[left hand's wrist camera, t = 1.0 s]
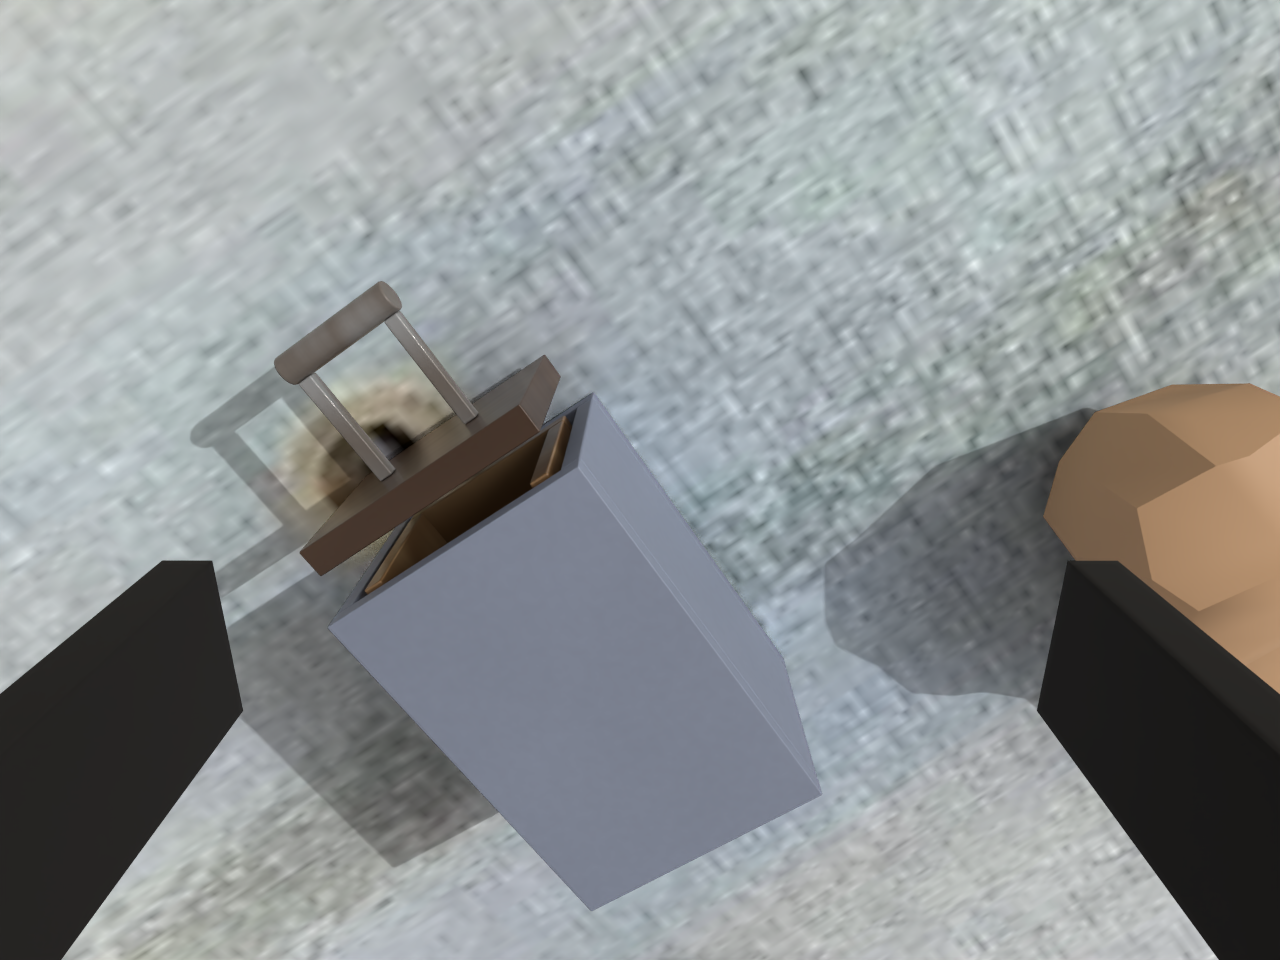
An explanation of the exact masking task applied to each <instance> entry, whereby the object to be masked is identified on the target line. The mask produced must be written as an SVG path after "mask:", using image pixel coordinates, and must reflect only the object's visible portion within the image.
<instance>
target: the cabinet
mask: <svg viewBox="0 0 1280 960" xmlns="http://www.w3.org/2000/svg"><path fill="white" fill-rule="evenodd" d="M562 416H565V417H566V418H567V419H568V420H569V422H570V423H571V425H572V430H571V433H570V437H569V441H568V445H567V449H566V452H565V456H564V460H563V464H562V468H561V471H559V472H557V473H556V474H554V475H553V476H551V477H550V478H548V479H547V480H545V481H544V482H542V483H540V484H539V485H537V486H536V487H534V488H533V489H531V490H530V491H528V492H526V493H525V494H523V495H522V496H520V497H519V498H517V499H516V500H514V501H512V502H511V503H509V504H508V505H506V506H505V507H503V508H502V509H500V510H499V511H497V512H495V513H494V514H492V515H491V516H489V517H488V518H486V519H485V520H483V521H481V522H480V523H478V524H477V525H475V526H474V527H472V528H471V529H469V530H467V531H466V532H464V533H463V534H461V535H460V536H458V537H457V538H455V539H454V540H452V541H450V542H449V543H447V544H446V545H444V546H443V547H441V548H440V549H438V550H436V551H435V552H433V553H432V554H430V555H429V556H427V557H426V558H424V559H422V560H421V561H419V562H418V563H416V564H415V565H413V566H412V567H410V568H409V569H407V570H405V571H404V572H402V573H401V574H399V575H398V576H396V577H395V578H393V579H391V580H390V581H388V582H387V583H385V584H384V585H382V586H381V587H379V588H377V589H376V590H374V591H373V592H371V593H370V594H368V595H367V593H366V592H365V589H366V588H367V586H368V585H369V583H370V581H371V580H372V578H373V577H374V575H375V574H376V572H377V571H378V569H379V568H380V566H381V564H382V563H383V561H384V560H385V558H386V557H387V555H388V554H389V552H390V551H391V549H392V548H393V546H394V544H395V543H396V541H397V540H398V538H399V537H400V535H401V534H402V532H403V531H404V529H405V527H406V526H407V524H408V523H409V521H410V520H411V519H412V517H413V516H412V517H410V518H409V519H407V520H406V521H404V522H403V523H401V524H400V525H398V526H397V527H395V529H394V530H393V532H392V533H391V535H390V536H389V537H388V539H387V540H386V542H385V543H384V545H383V546H382V548H381V549H380V551H379V552H378V554H377V555H376V557H375V558H374V560H373V561H372V563H371V564H370V566H369V567H368V569H367V570H366V571H365V573H364V574H363V576H362V577H361V579H360V580H359V582H358V583H357V585H356V586H355V588H354V589H353V591H352V592H351V594H350V595H349V597H348V598H347V600H346V601H345V603H344V604H343V605H342V607H341V608H340V610H339V611H338V613H337V614H336V616H335V617H334V618H333V620H332V621H331V623H330V624H329V626H328V629H329V630H330V631H331V632H332V634H333V635H334V636H335V637H336V638H337V639H338V640H339V641H340V642H341V643H342V644H343V645H344V646H345V647H346V649H347V650H348V651H349V652H350V653H351V654H352V655H353V656H354V657H355V658H356V659H357V660H358V661H359V662H360V664H361V665H362V666H363V667H364V668H365V669H366V670H367V671H368V672H369V673H370V674H371V675H372V676H373V678H374V679H375V680H376V681H377V682H378V683H379V684H380V685H381V686H382V687H383V688H384V689H385V690H386V691H387V693H388V694H389V695H390V696H391V697H392V698H393V699H394V700H395V701H396V702H397V703H398V704H399V705H400V707H401V708H402V709H403V710H404V711H405V712H406V713H407V714H408V715H409V716H410V717H411V718H412V719H413V720H414V722H415V723H416V724H417V725H418V726H419V727H420V728H421V729H422V730H423V731H424V732H425V733H426V734H427V735H428V737H429V738H430V739H431V740H432V741H433V742H434V743H435V744H436V745H437V746H438V747H439V748H440V749H441V751H442V752H443V753H444V754H445V755H446V756H447V757H448V758H449V759H450V760H451V761H452V762H453V763H454V764H455V766H456V767H457V768H458V769H459V770H460V771H461V772H462V773H463V774H464V775H465V776H466V777H467V778H468V780H469V781H470V782H471V783H472V784H473V785H474V786H475V787H476V788H477V789H478V790H479V791H480V792H481V793H482V795H483V796H484V797H485V798H486V799H487V800H488V801H489V802H490V803H491V804H492V805H493V806H494V807H495V808H496V810H497V811H498V812H499V813H500V814H501V815H502V816H503V817H504V818H505V819H506V820H507V821H508V822H509V824H510V825H511V826H512V827H513V828H514V829H515V830H516V831H517V832H518V833H519V834H520V835H521V836H522V837H523V839H524V840H525V841H526V842H527V843H528V844H529V845H530V846H531V847H532V848H533V849H534V850H535V851H536V853H537V854H538V855H539V856H540V857H541V858H542V859H543V860H544V861H545V862H546V863H547V864H548V865H549V866H550V868H551V869H552V870H553V871H554V872H555V873H556V874H557V875H558V876H559V877H560V878H561V879H562V880H563V881H564V883H565V884H566V885H567V886H568V887H569V888H570V889H571V890H572V891H573V892H574V893H575V894H576V895H577V897H578V898H579V899H580V900H581V901H582V902H583V903H584V904H585V905H586V906H587V907H588V908H589V909H590V910H591V911H593V910H595V909H597V908H599V907H601V906H603V905H605V904H607V903H609V902H611V901H613V900H615V899H617V898H619V897H621V896H623V895H625V894H627V893H629V892H631V891H633V890H635V889H637V888H639V887H641V886H643V885H645V884H646V883H648V882H650V881H652V880H654V879H656V878H658V877H660V876H662V875H664V874H666V873H668V872H670V871H672V870H674V869H676V868H678V867H680V866H682V865H684V864H686V863H688V862H690V861H692V860H694V859H696V858H698V857H700V856H702V855H704V854H706V853H708V852H710V851H712V850H714V849H716V848H718V847H720V846H722V845H724V844H726V843H728V842H730V841H732V840H734V839H736V838H738V837H739V836H741V835H743V834H745V833H747V832H749V831H751V830H753V829H755V828H757V827H759V826H761V825H763V824H765V823H767V822H769V821H771V820H773V819H775V818H777V817H779V816H781V815H783V814H785V813H787V812H789V811H791V810H793V809H795V808H797V807H799V806H801V805H803V804H805V803H807V802H809V801H811V800H813V799H815V798H817V797H819V796H821V795H822V791H821V788H820V784H819V781H818V779H817V775H816V772H815V768H814V765H813V761H812V758H811V754H810V751H809V747H808V744H807V740H806V736H805V733H804V729H803V726H802V722H801V719H800V715H799V712H798V708H797V705H796V701H795V698H794V694H793V691H792V687H791V684H790V680H789V677H788V673H787V670H786V665H785V662H784V658H783V657H782V655H781V654H780V653H779V651H778V650H777V648H776V647H775V646H774V644H773V643H772V641H771V640H770V639H769V637H768V636H767V634H766V633H765V632H764V630H763V629H762V627H761V626H760V625H759V623H758V622H757V620H756V619H755V618H754V616H753V615H752V613H751V612H750V611H749V609H748V608H747V606H746V605H745V603H744V602H743V601H742V599H741V598H740V596H739V595H738V594H737V592H736V591H735V589H734V588H733V587H732V585H731V584H730V582H729V581H728V580H727V578H726V577H725V575H724V574H723V573H722V571H721V570H720V568H719V567H718V566H717V564H716V563H715V561H714V560H713V559H712V557H711V556H710V554H709V553H708V552H707V550H706V549H705V547H704V546H703V545H702V543H701V542H700V540H699V539H698V538H697V536H696V535H695V533H694V532H693V531H692V529H691V528H690V526H689V525H688V524H687V522H686V521H685V519H684V518H683V516H682V515H681V514H680V512H679V511H678V509H677V508H676V507H675V505H674V504H673V502H672V501H671V500H670V498H669V497H668V495H667V494H666V493H665V491H664V490H663V488H662V487H661V486H660V484H659V483H658V481H657V480H656V479H655V477H654V476H653V474H652V473H651V472H650V470H649V469H648V467H647V466H646V465H645V463H644V462H643V460H642V459H641V458H640V456H639V455H638V453H637V452H636V451H635V449H634V448H633V446H632V445H631V444H630V442H629V441H628V439H627V438H626V437H625V435H624V434H623V432H622V431H621V430H620V428H619V427H618V425H617V424H616V422H615V421H614V420H613V418H612V417H611V415H610V414H609V413H608V411H607V410H606V408H605V407H604V406H603V404H602V403H601V401H600V400H599V399H598V397H597V396H596V394H595V393H591V394H590V395H588V396H587V397H585V398H584V399H582V400H581V401H579V402H578V403H576V404H575V405H573V406H572V407H570V408H569V409H567V410H566V411H564V412H563V413H561V414H560V415H558V416H557V417H555V418H554V419H552V420H551V421H549V422H548V423H546V424H545V425H543V426H542V427H541V430H542V429H544V428H545V427H547V426H548V425H550V424H551V423H553V422H554V421H556V420H558V419H559V418H561V417H562ZM541 430H540V431H541Z"/></svg>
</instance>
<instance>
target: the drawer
mask: <svg viewBox="0 0 1280 960" xmlns="http://www.w3.org/2000/svg"><path fill="white" fill-rule="evenodd" d="M401 308H402V304H401V301H400V299H399V297H398V295H397V294H396V293H395V291H394V290H393V289H392V288H391V287H390V286H389V285H388V284H386V283H385V282H383V281H380V282H378V283H376V284H375V285H374V286H372V287H371V288H370V289H368V290H367V291H365V292H364V293H363V294H361V295H360V296H359V297H357V298H356V299H355V300H353V301H352V302H351V303H349V304H348V305H347V306H345V307H344V308H343V309H341V310H340V311H339V312H337V313H336V314H335V315H333V316H332V317H330V318H329V319H328V320H326V321H325V322H324V323H322V324H321V325H320V326H318V327H317V328H316V329H314V330H313V331H312V332H310V333H309V334H308V335H306V336H305V337H304V338H302V339H301V340H300V341H298V342H297V343H296V344H294V345H293V346H291V347H290V348H289V349H287V350H286V351H285V352H283V353H282V354H281V355H279V356H278V357H277V358H276V359H275V361H274V365H275V368H276V370H277V372H278V373H279V374H280V376H281V377H282V378H283V379H284V380H286V381H287V382H288V383H290V384H293V385H296V384H299V385H300V386H301V388H302V389H303V390H304V391H305V392H306V393H307V395H308V396H309V397H310V398H311V399H312V401H313V402H314V403H315V404H316V405H317V407H318V408H319V409H320V410H321V411H322V412H323V414H324V415H325V416H326V417H327V418H328V420H329V421H330V422H331V423H332V424H333V426H334V427H335V428H336V429H337V430H338V431H339V433H340V434H341V435H342V436H343V437H344V439H345V440H346V441H347V442H348V443H349V445H350V446H351V447H352V448H353V449H354V450H355V452H356V453H357V454H358V455H359V456H360V458H361V459H362V460H363V461H364V462H365V464H366V465H367V466H368V467H369V468H370V469H371V471H372V473H370V474H369V475H367V476H366V477H365V478H364V479H363V480H362V481H361V483H360V484H359V485H358V486H357V487H356V488H355V489H354V491H353V492H352V493H351V494H350V495H349V496H348V497H347V499H346V500H345V501H344V502H343V503H342V504H341V505H340V507H339V508H338V509H337V510H336V511H335V512H334V513H333V514H332V516H331V517H330V518H329V519H328V520H327V521H326V522H325V524H324V525H323V526H322V527H321V528H320V529H319V530H318V532H317V533H316V534H315V535H314V536H313V537H312V538H311V539H310V541H309V542H308V543H307V544H306V545H305V546H304V547H303V549H302V550H301V551H300V554H301V555H302V556H303V558H304V559H305V560H306V561H307V562H308V563H309V564H310V565H311V566H312V567H313V569H314V570H315V571H316V572H317V573H318V574H319V575H320V576H323V575H324V574H326V573H327V572H329V571H330V570H332V569H333V568H335V567H336V566H338V565H339V564H341V563H342V562H344V561H345V560H347V559H348V558H350V557H351V556H353V555H354V554H356V553H357V552H359V551H360V550H362V549H363V548H365V547H366V546H368V545H369V544H371V543H372V542H374V541H376V540H377V539H379V538H380V537H382V536H383V535H385V534H386V533H388V532H389V531H391V530H392V529H394V528H395V527H397V526H398V525H400V524H401V523H403V522H404V521H406V520H407V519H409V518H410V517H412V516H413V517H412V519H411V520H410V521H409V523H408V524H407V526H406V527H405V529H404V531H403V532H402V534H401V535H400V537H399V538H398V540H397V541H396V543H395V544H394V546H393V548H392V549H391V551H390V552H389V554H388V555H387V557H386V558H385V560H384V561H383V563H382V564H381V566H380V568H379V569H378V571H377V572H376V574H375V575H374V577H373V578H372V580H371V581H370V583H369V585H368V586H367V588H366V589H365V592H366V593H367V595H368V594H370V593H371V592H373V591H374V590H376V589H377V588H379V587H381V586H382V585H384V584H385V583H387V582H388V581H390V580H391V579H393V578H395V577H396V576H398V575H399V574H401V573H402V572H404V571H405V570H407V569H409V568H410V567H412V566H413V565H415V564H416V563H418V562H419V561H421V560H422V559H424V558H426V557H427V556H429V555H430V554H432V553H433V552H435V551H436V550H438V549H440V548H441V547H443V546H444V545H446V544H447V543H449V542H450V541H452V540H454V539H455V538H457V537H458V536H460V535H461V534H463V533H464V532H466V531H467V530H469V529H471V528H472V527H474V526H475V525H477V524H478V523H480V522H481V521H483V520H485V519H486V518H488V517H489V516H491V515H492V514H494V513H495V512H497V511H499V510H500V509H502V508H503V507H505V506H506V505H508V504H509V503H511V502H512V501H514V500H516V499H517V498H519V497H520V496H522V495H523V494H525V493H526V492H528V491H530V490H531V489H533V488H534V487H536V486H537V485H539V484H540V483H542V482H544V481H545V480H547V479H548V478H550V477H551V476H553V475H554V474H556V473H557V472H559V471H561V468H562V464H563V460H564V456H565V452H566V449H567V445H568V441H569V437H570V433H571V430H572V425H571V423H570V422H569V420H568V419H567V418H566V417H565V416H562V417H561V418H559V419H558V420H556V421H554V422H553V423H551V424H550V425H548V426H547V427H545V428H544V429H542V430H541V427H542V425H543V422H544V419H545V417H546V414H547V412H548V409H549V406H550V404H551V401H552V398H553V396H554V393H555V390H556V388H557V385H558V383H559V380H560V375H559V373H558V372H557V371H556V369H555V368H554V367H553V365H552V364H551V362H550V361H549V360H548V358H547V357H546V355H543V356H541V357H540V358H539V359H537V360H536V361H534V362H533V363H531V364H530V365H528V366H527V367H525V368H524V369H522V370H521V371H520V372H518V373H517V374H515V375H514V376H512V377H511V378H509V379H508V380H506V381H505V382H503V383H502V384H500V385H499V386H498V387H496V388H495V389H493V390H492V391H490V392H489V393H487V394H486V395H484V396H483V397H481V398H480V399H479V400H477V401H476V402H474V403H473V404H471V402H470V401H469V400H468V398H467V397H466V396H465V394H464V393H463V392H462V391H461V389H460V388H459V387H458V385H457V384H456V383H455V382H454V380H453V379H452V378H451V376H450V375H449V374H448V372H447V371H446V370H445V369H444V367H443V366H442V365H441V363H440V362H439V361H438V359H437V358H436V357H435V356H434V354H433V353H432V352H431V350H430V349H429V348H428V347H427V345H426V344H425V343H424V341H423V340H422V339H421V337H420V336H419V335H418V334H417V332H416V331H415V330H414V328H413V327H412V326H411V324H410V323H409V322H408V321H407V319H406V318H405V317H404V315H403V314H402V313H401V312H400V311H399V310H400V309H401ZM384 321H385V324H386V325H387V326H388V328H389V329H390V330H391V332H392V333H393V334H394V335H395V337H396V338H397V339H398V341H399V342H400V343H401V344H402V346H403V347H404V348H405V349H406V351H407V352H408V353H409V355H410V356H411V357H412V358H413V360H414V361H415V362H416V364H417V365H418V366H419V367H420V369H421V370H422V371H423V372H424V374H425V375H426V376H427V378H428V379H429V380H430V381H431V383H432V384H433V385H434V387H435V388H436V389H437V390H438V392H439V393H440V394H441V396H442V397H443V398H444V399H445V401H446V402H447V403H448V404H449V406H450V407H451V408H452V410H453V411H454V412H455V413H456V415H455V416H454V417H452V418H451V419H449V420H448V421H446V422H445V423H443V424H442V425H440V426H439V427H438V428H436V429H435V430H433V431H432V432H430V433H429V434H427V435H426V436H424V437H423V438H421V439H420V440H419V441H417V442H416V443H414V444H413V445H411V446H410V447H408V448H407V449H405V450H404V451H402V452H401V453H399V454H398V455H397V456H395V457H394V458H392V459H391V460H388V459H387V458H386V457H385V456H384V454H383V453H382V452H381V451H380V450H379V448H378V447H377V446H376V445H375V444H374V442H373V441H372V440H371V439H370V438H369V436H368V435H367V434H366V433H365V432H364V430H363V429H362V428H361V427H360V426H359V424H358V423H357V422H356V421H355V420H354V418H353V417H352V416H351V415H350V414H349V412H348V411H347V410H346V409H345V408H344V406H343V405H342V404H341V403H340V401H339V400H338V399H337V398H336V397H335V395H334V394H333V393H332V392H331V391H330V389H329V388H328V387H327V386H326V385H325V383H324V382H323V381H322V380H321V379H320V377H319V376H318V375H317V374H316V373H314V372H316V371H317V370H318V369H320V368H321V367H322V366H324V365H325V364H326V363H328V362H329V361H331V360H332V359H333V358H335V357H336V356H337V355H339V354H340V353H342V352H343V351H344V350H346V349H347V348H348V347H350V346H351V345H353V344H354V343H355V342H357V341H358V340H359V339H361V338H362V337H364V336H365V335H366V334H368V333H369V332H370V331H372V330H373V329H374V328H376V327H377V326H379V325H380V324H381V323H383V322H384ZM540 430H541V431H540Z"/></svg>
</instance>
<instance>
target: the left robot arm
mask: <svg viewBox="0 0 1280 960" xmlns="http://www.w3.org/2000/svg"><path fill="white" fill-rule="evenodd" d="M242 711H243V708H242V703H241V698H240V693H239V688H238V684H237V679H236V674H235V669H234V664H233V659H232V654H231V650H230V645H229V640H228V635H227V630H226V625H225V621H224V616H223V611H222V606H221V601H220V596H219V591H218V587H217V582H216V577H215V572H214V567H213V562H212V561H161V562H160V563H159V564H158V565H156V566H155V567H154V568H153V569H152V570H150V571H149V572H148V573H147V574H145V575H144V576H143V577H142V578H141V579H139V580H138V581H137V582H136V583H135V584H133V585H132V586H131V587H130V588H128V589H127V590H126V591H125V592H124V593H122V594H121V595H120V596H119V597H117V598H116V599H115V600H114V601H113V602H111V603H110V604H109V605H108V606H107V607H105V608H104V609H103V610H102V611H100V612H99V613H98V614H97V615H96V616H94V617H93V618H92V619H91V620H90V621H88V622H87V623H86V624H85V625H83V626H82V627H81V628H80V629H79V630H77V631H76V632H75V633H74V634H73V635H71V636H70V637H69V638H68V639H66V640H65V641H64V642H63V643H62V644H60V645H59V646H58V647H57V648H56V649H54V650H53V651H52V652H51V653H49V654H48V655H47V656H46V657H45V658H43V659H42V660H41V661H40V662H39V663H37V664H36V665H35V666H34V667H32V668H31V669H30V670H29V671H28V672H26V673H25V674H24V675H23V676H22V677H20V678H19V679H18V680H17V681H15V682H14V683H13V684H12V685H11V686H9V687H8V688H7V689H6V690H4V691H3V692H2V693H1V694H0V960H61V959H62V958H63V956H64V955H65V954H66V952H67V951H68V950H69V948H70V947H71V946H72V944H73V943H74V941H75V940H76V939H77V937H78V936H79V935H80V933H81V932H82V930H83V929H84V928H85V926H86V925H87V924H88V922H89V921H90V920H91V918H92V917H93V915H94V914H95V913H96V911H97V910H98V909H99V907H100V906H101V904H102V903H103V902H104V900H105V899H106V898H107V896H108V895H109V894H110V892H111V891H112V889H113V888H114V887H115V885H116V884H117V883H118V881H119V880H120V878H121V877H122V876H123V874H124V873H125V872H126V870H127V869H128V867H129V866H130V865H131V863H132V862H133V861H134V859H135V858H136V857H137V855H138V854H139V852H140V851H141V850H142V848H143V847H144V846H145V844H146V843H147V841H148V840H149V839H150V837H151V836H152V835H153V833H154V832H155V831H156V829H157V828H158V826H159V825H160V824H161V822H162V821H163V820H164V818H165V817H166V815H167V814H168V813H169V811H170V810H171V809H172V807H173V806H174V805H175V803H176V802H177V800H178V799H179V798H180V796H181V795H182V794H183V792H184V791H185V789H186V788H187V787H188V785H189V784H190V783H191V781H192V780H193V779H194V777H195V776H196V774H197V773H198V772H199V770H200V769H201V768H202V766H203V765H204V763H205V762H206V761H207V759H208V758H209V757H210V755H211V754H212V753H213V751H214V750H215V748H216V747H217V746H218V744H219V743H220V742H221V740H222V739H223V737H224V736H225V735H226V733H227V732H228V731H229V729H230V728H231V727H232V725H233V724H234V722H235V721H236V720H237V718H238V717H239V716H240V714H241V713H242ZM1037 711H1038V713H1039V714H1040V716H1041V717H1042V718H1043V720H1044V721H1045V722H1046V724H1047V725H1048V727H1049V728H1050V729H1051V731H1052V732H1053V733H1054V735H1055V736H1056V737H1057V739H1058V740H1059V742H1060V743H1061V744H1062V746H1063V747H1064V748H1065V750H1066V751H1067V753H1068V754H1069V755H1070V757H1071V758H1072V759H1073V761H1074V762H1075V763H1076V765H1077V766H1078V768H1079V769H1080V770H1081V772H1082V773H1083V774H1084V776H1085V777H1086V779H1087V780H1088V781H1089V783H1090V784H1091V785H1092V787H1093V788H1094V789H1095V791H1096V792H1097V794H1098V795H1099V796H1100V798H1101V799H1102V800H1103V802H1104V803H1105V805H1106V806H1107V807H1108V809H1109V810H1110V811H1111V813H1112V814H1113V815H1114V817H1115V818H1116V820H1117V821H1118V822H1119V824H1120V825H1121V826H1122V828H1123V829H1124V831H1125V832H1126V833H1127V835H1128V836H1129V837H1130V839H1131V840H1132V841H1133V843H1134V844H1135V846H1136V847H1137V848H1138V850H1139V851H1140V852H1141V854H1142V855H1143V857H1144V858H1145V859H1146V861H1147V862H1148V863H1149V865H1150V866H1151V867H1152V869H1153V870H1154V872H1155V873H1156V874H1157V876H1158V877H1159V878H1160V880H1161V881H1162V883H1163V884H1164V885H1165V887H1166V888H1167V889H1168V891H1169V892H1170V894H1171V895H1172V896H1173V898H1174V899H1175V900H1176V902H1177V903H1178V904H1179V906H1180V907H1181V909H1182V910H1183V911H1184V913H1185V914H1186V915H1187V917H1188V918H1189V920H1190V921H1191V922H1192V924H1193V925H1194V926H1195V928H1196V929H1197V930H1198V932H1199V933H1200V935H1201V936H1202V937H1203V939H1204V940H1205V941H1206V943H1207V944H1208V946H1209V947H1210V948H1211V950H1212V951H1213V952H1214V954H1215V955H1216V956H1217V958H1218V959H1219V960H1280V694H1279V693H1278V692H1277V691H1276V690H1274V689H1273V688H1272V687H1271V686H1269V685H1268V684H1267V683H1266V682H1265V681H1263V680H1262V679H1261V678H1260V677H1258V676H1257V675H1256V674H1255V673H1254V672H1252V671H1251V670H1250V669H1249V668H1248V667H1246V666H1245V665H1244V664H1243V663H1241V662H1240V661H1239V660H1238V659H1237V658H1235V657H1234V656H1233V655H1232V654H1231V653H1229V652H1228V651H1227V650H1226V649H1224V648H1223V647H1222V646H1221V645H1220V644H1218V643H1217V642H1216V641H1215V640H1214V639H1212V638H1211V637H1210V636H1209V635H1207V634H1206V633H1205V632H1204V631H1203V630H1201V629H1200V628H1199V627H1198V626H1197V625H1195V624H1194V623H1193V622H1192V621H1190V620H1189V619H1188V618H1187V617H1186V616H1184V615H1183V614H1182V613H1181V612H1180V611H1178V610H1177V609H1176V608H1175V607H1173V606H1172V605H1171V604H1170V603H1169V602H1167V601H1166V600H1165V599H1164V598H1163V597H1161V596H1160V595H1159V594H1158V593H1156V592H1155V591H1154V590H1153V589H1152V588H1150V587H1149V586H1148V585H1147V584H1145V583H1144V582H1143V581H1142V580H1141V579H1139V578H1138V577H1137V576H1136V575H1135V574H1133V573H1132V572H1131V571H1130V570H1128V569H1127V568H1126V567H1125V566H1124V565H1122V564H1121V563H1120V562H1119V561H1068V562H1067V567H1066V572H1065V577H1064V582H1063V587H1062V591H1061V596H1060V601H1059V606H1058V611H1057V616H1056V621H1055V625H1054V630H1053V635H1052V640H1051V645H1050V650H1049V654H1048V659H1047V664H1046V669H1045V674H1044V679H1043V684H1042V688H1041V693H1040V698H1039V703H1038V708H1037Z"/></svg>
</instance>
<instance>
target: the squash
mask: <svg viewBox="0 0 1280 960" xmlns="http://www.w3.org/2000/svg"><path fill="white" fill-rule="evenodd" d="M1043 517H1044V519H1045V520H1046V521H1047V523H1048V524H1049V525H1050V527H1051V528H1052V529H1053V531H1054V532H1055V533H1056V535H1057V536H1058V537H1059V539H1060V540H1061V541H1062V543H1063V544H1064V545H1065V547H1066V548H1067V549H1068V551H1069V552H1070V554H1071V555H1072V556H1073V558H1074V559H1075V560H1076V561H1119V562H1120V563H1121V564H1122V565H1124V566H1125V567H1126V568H1127V569H1128V570H1130V571H1131V572H1132V573H1133V574H1135V575H1136V576H1137V577H1138V578H1139V579H1141V580H1142V581H1143V582H1144V583H1145V584H1147V585H1148V586H1149V587H1150V588H1152V589H1153V590H1154V591H1155V592H1156V593H1158V594H1159V595H1160V596H1161V597H1163V598H1164V599H1165V600H1166V601H1167V602H1169V603H1170V604H1171V605H1172V606H1173V607H1175V608H1176V609H1177V610H1178V611H1180V612H1181V613H1182V614H1183V615H1184V616H1186V617H1187V618H1188V619H1189V620H1190V621H1192V622H1193V623H1194V624H1195V625H1197V626H1198V627H1199V628H1200V629H1201V630H1203V631H1204V632H1205V633H1206V634H1207V635H1209V636H1210V637H1211V638H1212V639H1214V640H1215V641H1216V642H1217V643H1218V644H1220V645H1221V646H1222V647H1223V648H1224V649H1226V650H1227V651H1228V652H1229V653H1231V654H1232V655H1233V656H1234V657H1235V658H1237V659H1238V660H1239V661H1240V662H1241V663H1243V664H1244V665H1245V666H1246V667H1248V668H1249V669H1250V670H1251V671H1252V672H1254V673H1255V674H1256V675H1257V676H1258V677H1260V678H1261V679H1262V680H1263V681H1265V682H1266V683H1267V684H1268V685H1269V686H1271V687H1272V688H1273V689H1274V690H1276V691H1277V692H1278V693H1279V694H1280V397H1279V396H1277V395H1275V394H1272V393H1270V392H1268V391H1266V390H1263V389H1261V388H1259V387H1257V386H1254V385H1252V384H1250V383H1248V384H1191V385H1170V386H1167V387H1164V388H1162V389H1159V390H1156V391H1153V392H1150V393H1148V394H1145V395H1142V396H1139V397H1136V398H1134V399H1131V400H1128V401H1125V402H1122V403H1120V404H1117V405H1114V406H1111V407H1108V408H1106V409H1103V410H1100V411H1097V412H1095V413H1094V414H1093V416H1092V417H1091V418H1090V420H1089V421H1088V422H1087V424H1086V425H1085V427H1084V428H1083V429H1082V431H1081V432H1080V433H1079V435H1078V436H1077V438H1076V439H1075V440H1074V442H1073V443H1072V444H1071V446H1070V447H1069V449H1068V450H1067V451H1066V453H1065V454H1064V455H1063V457H1062V458H1061V460H1060V461H1059V464H1058V467H1057V471H1056V474H1055V478H1054V481H1053V484H1052V488H1051V491H1050V495H1049V498H1048V502H1047V505H1046V509H1045V512H1044V516H1043Z"/></svg>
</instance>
